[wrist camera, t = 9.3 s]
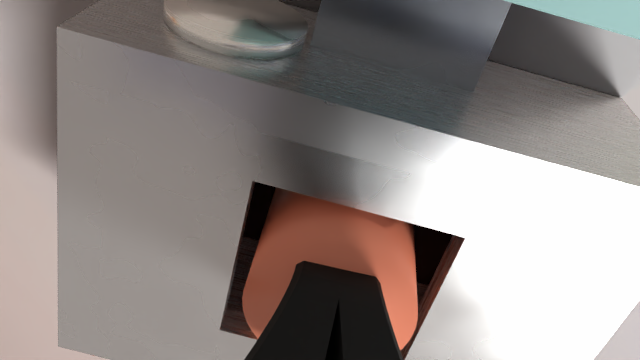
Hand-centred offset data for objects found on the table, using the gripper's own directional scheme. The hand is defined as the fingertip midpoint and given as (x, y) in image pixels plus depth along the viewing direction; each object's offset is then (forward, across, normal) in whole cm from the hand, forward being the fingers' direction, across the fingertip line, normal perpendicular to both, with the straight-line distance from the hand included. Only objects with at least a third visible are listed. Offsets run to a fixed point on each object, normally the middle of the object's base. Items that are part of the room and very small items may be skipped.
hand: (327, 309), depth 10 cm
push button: (+4, 0, 0) cm, 4 cm away
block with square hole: (+4, 0, 0) cm, 4 cm away
